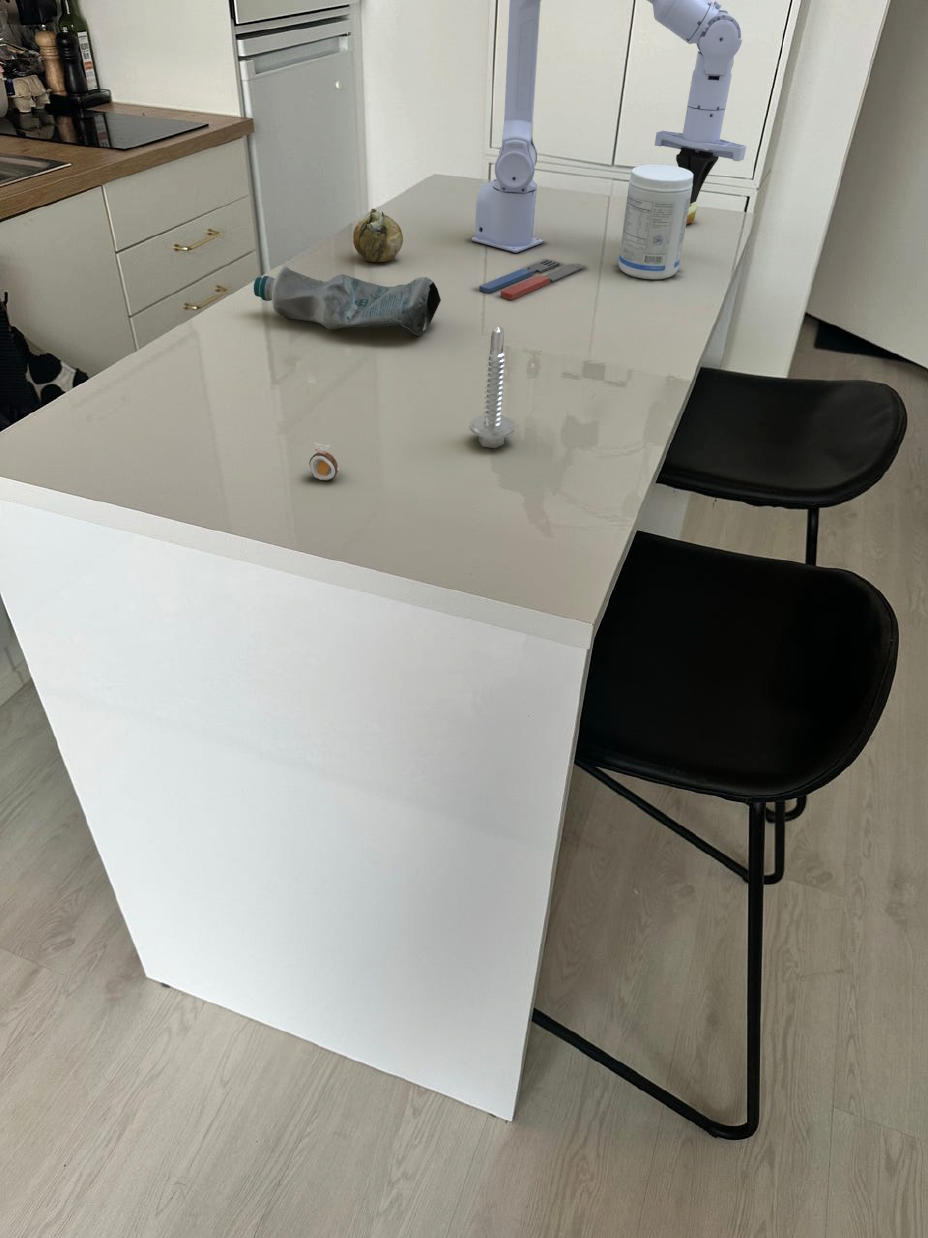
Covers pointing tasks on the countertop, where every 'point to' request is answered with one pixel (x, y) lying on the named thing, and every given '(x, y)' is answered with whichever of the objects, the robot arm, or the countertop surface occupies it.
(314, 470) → the chocolate
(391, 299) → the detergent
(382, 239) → the onion
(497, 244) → the robot arm
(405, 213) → the countertop surface
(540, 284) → the knife
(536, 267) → the fork
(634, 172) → the supplement tub
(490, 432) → the screw
